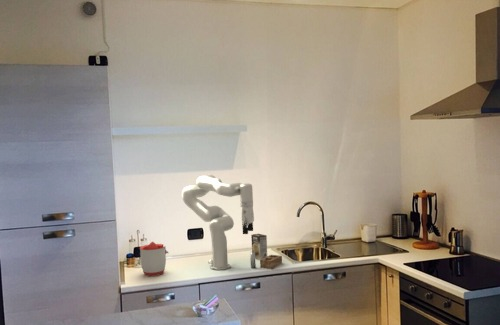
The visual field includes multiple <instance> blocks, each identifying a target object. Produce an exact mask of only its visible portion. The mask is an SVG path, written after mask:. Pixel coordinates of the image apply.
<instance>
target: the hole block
mask: <svg viewBox="0 0 500 325" xmlns="http://www.w3.org/2000/svg"><path fill="white" fill-rule="evenodd" d="M259 262H260V263H259V264H260V266H259V267H260V268H261V269H267V270H268V269H269V270H272V269H275V268H276V267H279V266H280V265H283V256H282V255H279V254H277V255H275V254H269V255H267V257H265V258H263V259H261V260H259Z"/></svg>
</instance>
